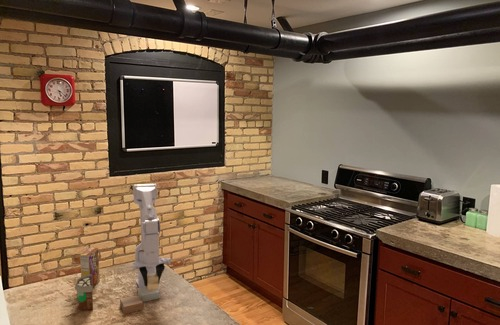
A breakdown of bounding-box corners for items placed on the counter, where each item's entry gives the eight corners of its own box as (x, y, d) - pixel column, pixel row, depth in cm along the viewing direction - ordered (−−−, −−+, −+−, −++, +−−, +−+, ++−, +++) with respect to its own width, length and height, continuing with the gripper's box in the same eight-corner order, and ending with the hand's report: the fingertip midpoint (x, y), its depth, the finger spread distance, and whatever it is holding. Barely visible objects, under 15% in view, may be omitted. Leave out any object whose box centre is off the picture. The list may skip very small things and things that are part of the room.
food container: (75, 299, 149) (75, 275, 148) (92, 297, 152) (91, 273, 151) (75, 315, 138) (74, 289, 137) (93, 312, 141) (92, 286, 139)
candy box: (90, 280, 167) (89, 247, 165) (100, 280, 167) (99, 247, 165) (80, 289, 158) (79, 254, 156) (90, 289, 158) (89, 255, 156)
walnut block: (120, 306, 146) (120, 298, 145) (138, 302, 149) (138, 294, 149) (124, 314, 140) (124, 306, 140) (143, 309, 143) (143, 302, 143)
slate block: (138, 295, 155) (138, 288, 155) (155, 291, 158) (154, 284, 158) (142, 302, 149) (142, 295, 149) (159, 298, 152) (159, 291, 152)
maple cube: (145, 287, 147) (145, 274, 146) (155, 285, 149) (155, 272, 148) (148, 291, 143) (147, 278, 143) (158, 289, 145) (158, 276, 145)
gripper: (134, 256, 137) (134, 292, 139) (172, 250, 144) (173, 284, 146) (130, 250, 143) (130, 284, 145) (167, 245, 150) (167, 277, 152)
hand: (151, 283), depth 146 cm, fingers closed on maple cube, 4 cm apart
